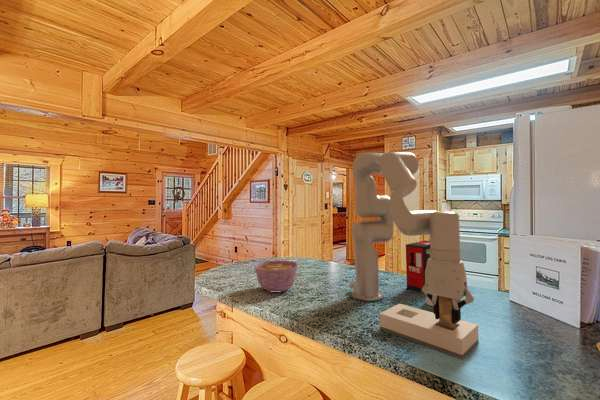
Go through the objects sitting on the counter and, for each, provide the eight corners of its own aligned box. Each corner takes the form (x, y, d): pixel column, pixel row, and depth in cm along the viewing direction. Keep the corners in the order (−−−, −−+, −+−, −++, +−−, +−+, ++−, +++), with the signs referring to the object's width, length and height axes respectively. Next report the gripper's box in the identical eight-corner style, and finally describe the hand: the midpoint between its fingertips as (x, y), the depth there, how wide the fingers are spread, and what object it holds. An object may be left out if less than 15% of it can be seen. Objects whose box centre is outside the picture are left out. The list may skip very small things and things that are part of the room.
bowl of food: (246, 290, 136) (246, 265, 136) (280, 281, 149) (280, 258, 149) (272, 300, 121) (271, 272, 121) (307, 289, 134) (307, 264, 134)
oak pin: (437, 329, 83) (436, 297, 83) (443, 324, 85) (442, 293, 85) (452, 333, 80) (451, 300, 80) (457, 328, 82) (456, 296, 82)
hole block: (462, 359, 74) (461, 339, 74) (380, 329, 92) (379, 313, 92) (478, 342, 82) (478, 324, 82) (399, 318, 100) (399, 303, 100)
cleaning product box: (425, 293, 124) (424, 246, 124) (406, 289, 131) (405, 244, 131) (445, 285, 134) (443, 242, 134) (426, 281, 141) (425, 240, 141)
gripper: (410, 253, 86) (412, 315, 86) (473, 261, 74) (475, 334, 74) (422, 250, 91) (424, 308, 91) (483, 256, 79) (485, 324, 79)
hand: (447, 319), depth 82 cm, fingers closed on oak pin, 4 cm apart
